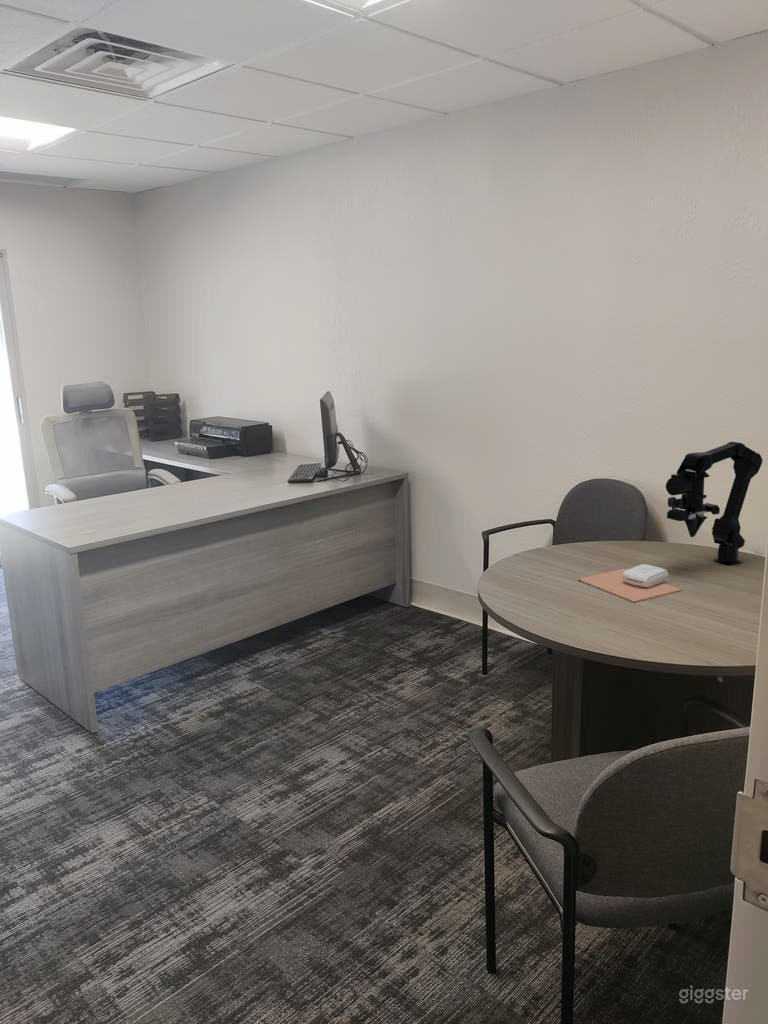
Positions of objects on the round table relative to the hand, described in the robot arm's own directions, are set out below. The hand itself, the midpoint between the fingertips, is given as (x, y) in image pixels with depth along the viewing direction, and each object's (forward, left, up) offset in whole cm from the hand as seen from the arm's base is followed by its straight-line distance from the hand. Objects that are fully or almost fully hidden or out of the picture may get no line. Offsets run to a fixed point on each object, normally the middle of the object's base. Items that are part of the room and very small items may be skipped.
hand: (692, 536), depth 260 cm
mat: (+28, 0, -12) cm, 30 cm away
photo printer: (+17, 0, -9) cm, 19 cm away
